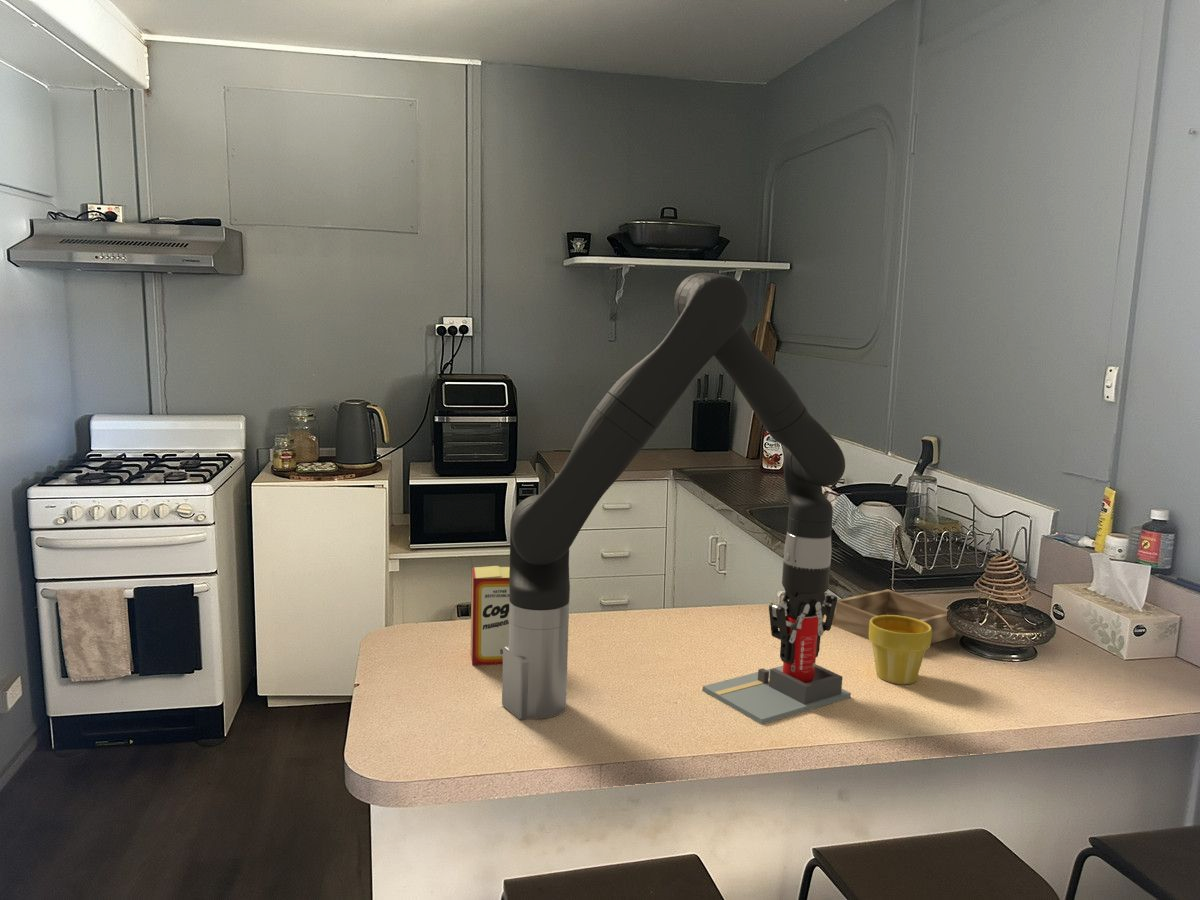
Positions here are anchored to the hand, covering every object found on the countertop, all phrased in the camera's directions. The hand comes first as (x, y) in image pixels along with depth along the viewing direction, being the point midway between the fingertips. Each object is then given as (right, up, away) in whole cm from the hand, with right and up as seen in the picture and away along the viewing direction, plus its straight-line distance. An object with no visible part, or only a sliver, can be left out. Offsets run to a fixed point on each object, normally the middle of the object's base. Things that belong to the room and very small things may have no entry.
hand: (799, 658), depth 149 cm
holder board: (-4, -6, -1) cm, 7 cm away
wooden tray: (+26, -2, +32) cm, 41 cm away
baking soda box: (-51, -2, +11) cm, 53 cm away
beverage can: (0, -4, +1) cm, 4 cm away
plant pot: (+19, -5, +8) cm, 21 cm away
